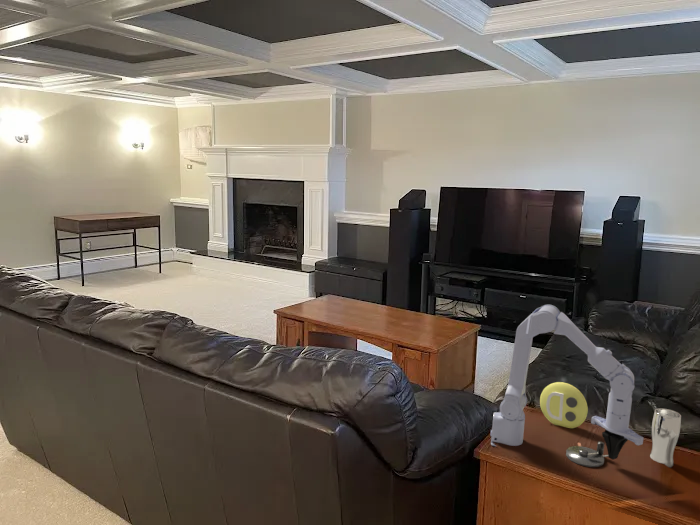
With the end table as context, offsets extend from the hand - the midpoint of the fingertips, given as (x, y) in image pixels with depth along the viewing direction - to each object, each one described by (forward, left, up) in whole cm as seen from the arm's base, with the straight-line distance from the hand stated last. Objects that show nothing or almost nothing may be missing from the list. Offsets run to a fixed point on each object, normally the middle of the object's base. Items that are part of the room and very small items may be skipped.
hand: (612, 457), depth 152 cm
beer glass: (+15, +10, -4) cm, 18 cm away
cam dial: (-7, +2, -2) cm, 8 cm away
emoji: (-11, +23, -4) cm, 26 cm away
